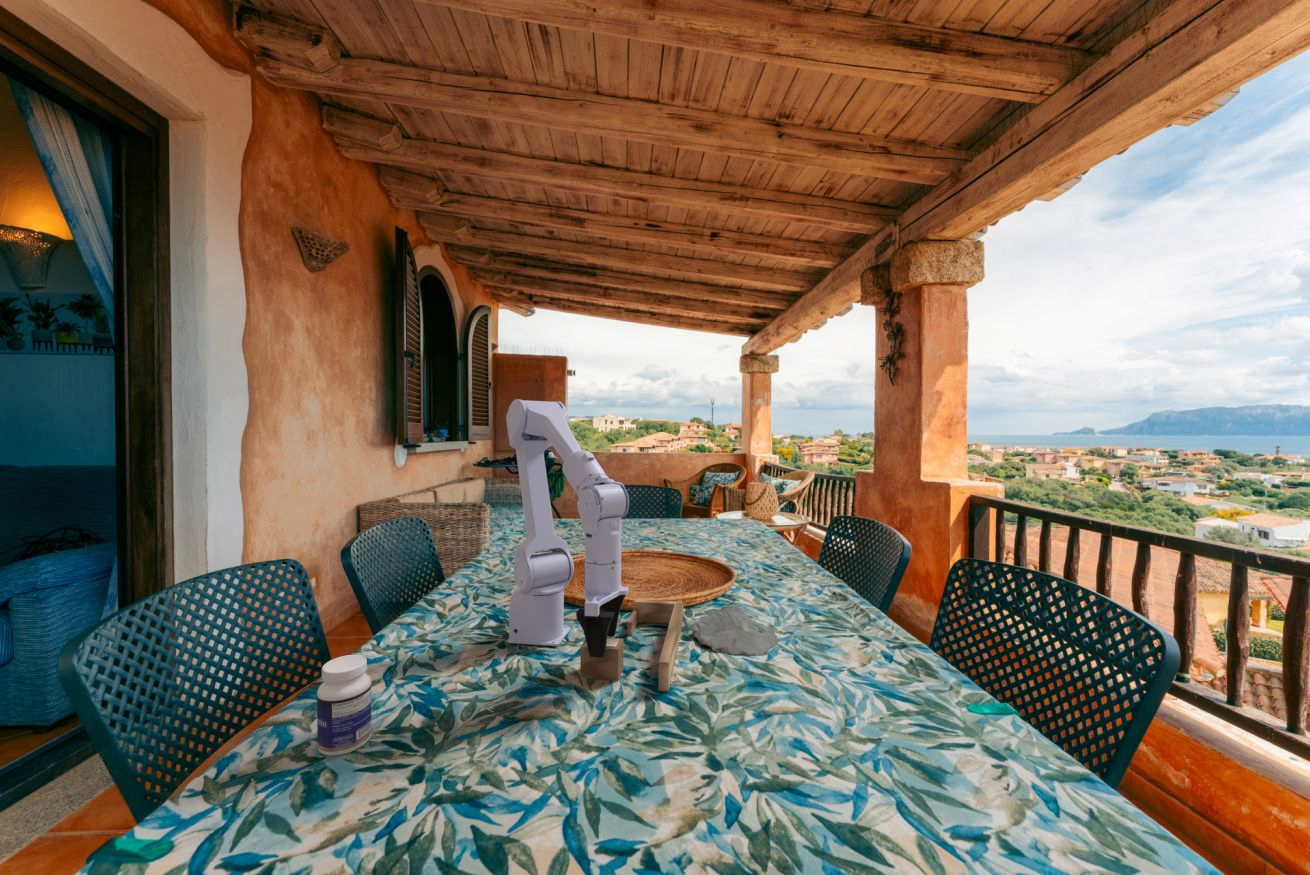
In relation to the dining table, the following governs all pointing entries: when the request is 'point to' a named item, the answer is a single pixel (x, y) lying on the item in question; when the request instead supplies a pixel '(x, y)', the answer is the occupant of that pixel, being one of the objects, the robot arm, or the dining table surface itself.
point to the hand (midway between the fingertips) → (602, 645)
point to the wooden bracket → (674, 617)
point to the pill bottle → (344, 706)
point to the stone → (734, 633)
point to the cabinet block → (603, 661)
